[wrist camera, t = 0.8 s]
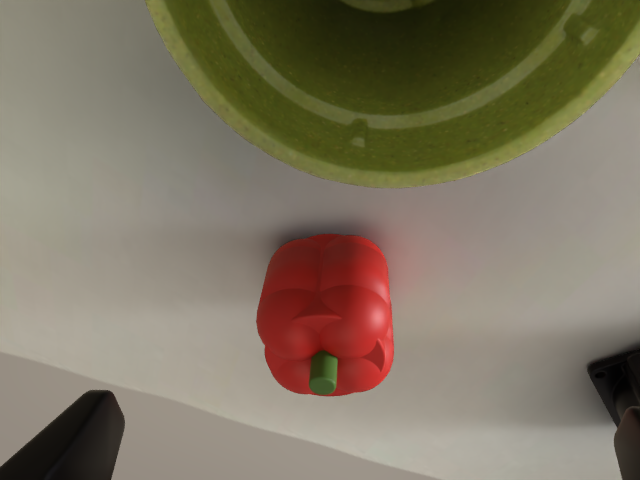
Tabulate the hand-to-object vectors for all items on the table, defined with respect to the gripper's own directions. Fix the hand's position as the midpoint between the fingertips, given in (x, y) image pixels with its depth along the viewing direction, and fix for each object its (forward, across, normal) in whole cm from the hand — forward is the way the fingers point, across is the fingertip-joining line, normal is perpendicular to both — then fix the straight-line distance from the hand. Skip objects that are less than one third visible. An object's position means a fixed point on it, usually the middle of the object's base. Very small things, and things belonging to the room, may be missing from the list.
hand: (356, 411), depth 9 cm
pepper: (+13, +2, +7) cm, 15 cm away
